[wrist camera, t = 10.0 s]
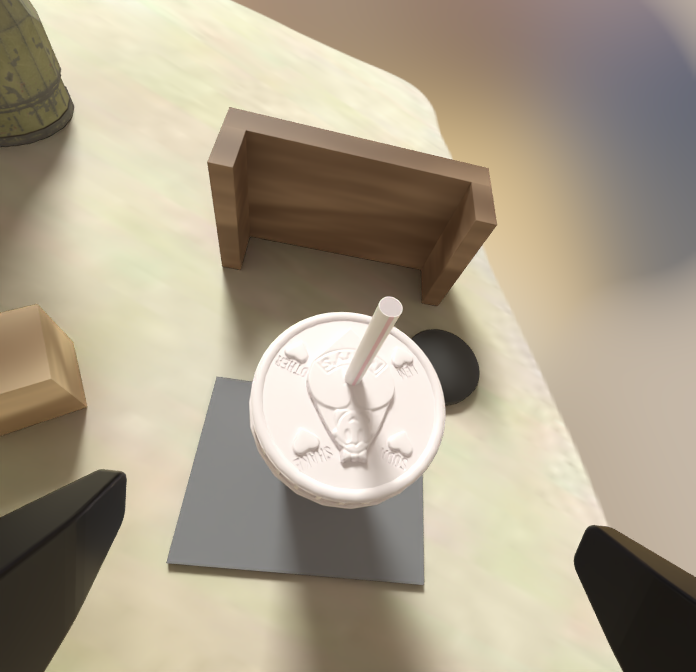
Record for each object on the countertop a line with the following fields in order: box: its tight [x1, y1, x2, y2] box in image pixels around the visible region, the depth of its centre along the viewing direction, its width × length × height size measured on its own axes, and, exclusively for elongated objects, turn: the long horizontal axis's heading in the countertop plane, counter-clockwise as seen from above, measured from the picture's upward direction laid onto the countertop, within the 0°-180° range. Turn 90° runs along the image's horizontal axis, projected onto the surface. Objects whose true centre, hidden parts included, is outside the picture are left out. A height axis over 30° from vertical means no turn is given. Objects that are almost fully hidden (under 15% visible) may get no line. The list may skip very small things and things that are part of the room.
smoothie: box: [249, 297, 445, 509], centre depth 14 cm, size 6×6×14 cm
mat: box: [166, 377, 424, 585], centre depth 20 cm, size 9×12×1 cm
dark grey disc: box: [411, 329, 479, 405], centre depth 25 cm, size 5×5×1 cm
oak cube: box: [0, 304, 87, 436], centre depth 18 cm, size 4×4×4 cm
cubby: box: [207, 107, 497, 306], centre depth 24 cm, size 5×15×8 cm, turn 86°
